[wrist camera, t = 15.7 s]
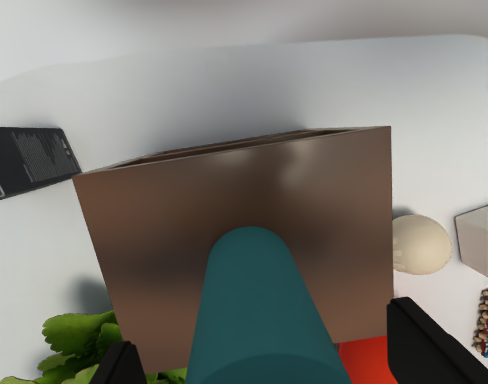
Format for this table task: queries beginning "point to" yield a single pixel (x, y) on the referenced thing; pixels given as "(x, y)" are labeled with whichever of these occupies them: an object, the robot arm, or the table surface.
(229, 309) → the teal cylinder
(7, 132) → the box
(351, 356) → the tomato
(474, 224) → the medicine bottle
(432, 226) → the cream round ball
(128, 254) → the rack
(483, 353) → the woven mat
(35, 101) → the table surface
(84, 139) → the table surface
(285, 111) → the table surface
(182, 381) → the potted flower
